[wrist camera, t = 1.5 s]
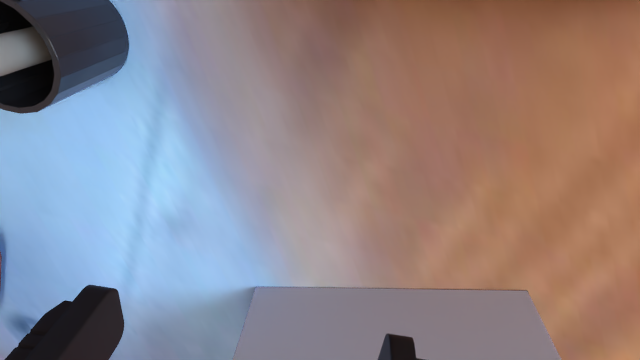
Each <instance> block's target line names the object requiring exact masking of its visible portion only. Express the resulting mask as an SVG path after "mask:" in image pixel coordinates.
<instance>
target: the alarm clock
mask: <svg viewBox="0 0 640 360" xmlns="http://www.w3.org/2000/svg"><path fill="white" fill-rule="evenodd" d="M1 259H2V257H1V252H0V286H1Z"/></svg>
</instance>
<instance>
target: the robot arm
mask: <svg viewBox="0 0 640 360" xmlns="http://www.w3.org/2000/svg"><path fill="white" fill-rule="evenodd" d="M123 330H124V319H123V314H122V309H121V304H120V299H119V293H118V291H117V290H116V289H114V288H108V287H101V286H95V285H88V286H86V287H85V288H84V289H83V290H82V291H81V292H80V293H79V295H78V296H77V297H76V298H75V299H74V301H73V302H71V301H63V302H62V303H60V304H59V305H57V306H56V307H54V308H53V309H51V310H50V311H48V312H47V313H45V314H44V316H43V317H42V318H41V319H40V320H39V321H38V322H37V324H36V325H35V326H34V327H33V328H32V329H31V332H30V333H29V334H27V335H26V336H25V337H24V338H23V339H22V341H21V342H20V343H19V345H18V347H17V348H15V349H14V350H13V351H12V352H11V353H10V354H9V355H8V356H7V358H6V359H5V360H109V358H110V357H111V355H112V353H113V352H114V350H115V348H116V347H117V345H118V344H119V342H120V339H121V337H122V334H123ZM378 360H425V359H419V358H416V352H415V345H414V340H413V338H412V337H408V336H401V335H395V334H389V333H387V334H386V335H385V338H384V341H383V344H382V347H381V350H380V354H379V357H378Z"/></svg>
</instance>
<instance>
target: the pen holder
mask: <svg viewBox="0 0 640 360" xmlns="http://www.w3.org/2000/svg"><path fill="white" fill-rule="evenodd" d="M29 27H34V28H35V29H36V31H37V32H38V33H39V35H40V36H41V37H42V39H43V40H44V42H45V44H46V47H47V49H48V51H49V53H50V55H51V58H52V59H51V60H48V61H45V62H42V63H39V64H36V65H33V66H30V67H27V68H24V69H21V70H18V71H15V72H12V73H9V74H6V75H3V76H0V108H1V109H3V110H7V111H11V112H16V113H32V112H38V111H40V110H42V109H44V108H46V107H49V106H51V105H53V104H55V103H57V102H59V101H61V100H63V99H65V98H67V97H69V96H71V95H73V94H76V93H78V92H80V91H82V90H84V89H86V88H88V87H90V86H92V85H94V84H96V83H98V82H100V81H103V80H105V79H106V78H108V77H110V76H112V75H114V74H115V73H117V72H118V71H119V70H120V69H121V68H122V66H123V65H124V63H125V61H126V58H127V55H128V47H129V43H128V35H127V31H126V28H125V25H124V22H123V20H122V18H121V16H120V14H119V13H118V11H117V10H116V8H115V7H114V6H113V4H112V3H111V2H110V1H109V0H0V34H2V33H6V32H11V31H15V30H20V29H25V28H29Z"/></svg>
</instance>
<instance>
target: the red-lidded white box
mask: <svg viewBox="0 0 640 360" xmlns="http://www.w3.org/2000/svg"><path fill="white" fill-rule="evenodd" d="M387 333H389V334H395V335H401V336H408V337H412V338H413V340H414V345H415V352H416V358H419V359H425V360H561V358H560V356H559V354H558V352H557V350H556V348H555V346H554V344H553V342H552V340H551V338H550V336H549V334H548V332H547V330H546V328H545V326H544V324H543V322H542V320H541V318H540V315H539V313H538V311H537V309H536V307H535V305H534V303H533V301H532V299H531V297H530V295H529V293H528V291H513V290H443V289H374V288H304V287H256V288H255V291H254V295H253V298H252V301H251V304H250V307H249V310H248V313H247V317H246V320H245V323H244V326H243V329H242V332H241V335H240V339H239V342H238V345H237V348H236V351H235V354H234V357H233V360H378V357H379V354H380V350H381V347H382V344H383V341H384V338H385V335H386V334H387Z"/></svg>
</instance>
